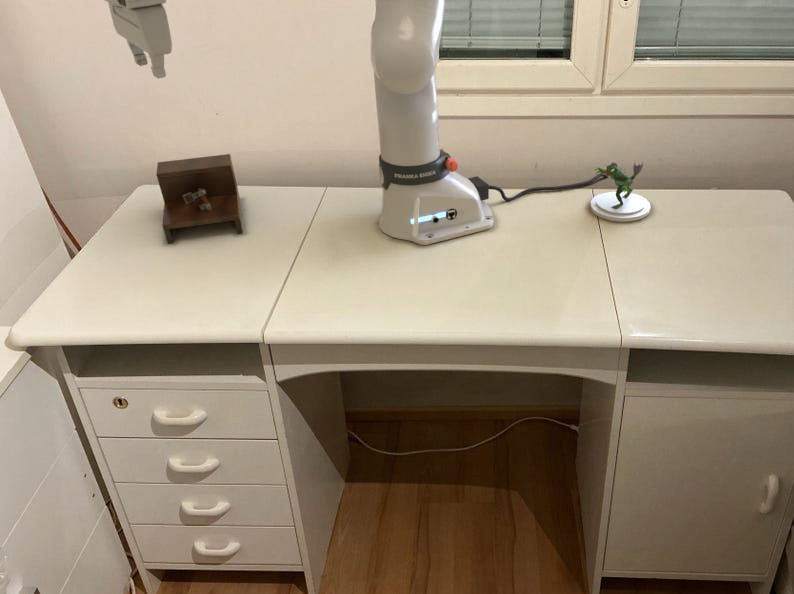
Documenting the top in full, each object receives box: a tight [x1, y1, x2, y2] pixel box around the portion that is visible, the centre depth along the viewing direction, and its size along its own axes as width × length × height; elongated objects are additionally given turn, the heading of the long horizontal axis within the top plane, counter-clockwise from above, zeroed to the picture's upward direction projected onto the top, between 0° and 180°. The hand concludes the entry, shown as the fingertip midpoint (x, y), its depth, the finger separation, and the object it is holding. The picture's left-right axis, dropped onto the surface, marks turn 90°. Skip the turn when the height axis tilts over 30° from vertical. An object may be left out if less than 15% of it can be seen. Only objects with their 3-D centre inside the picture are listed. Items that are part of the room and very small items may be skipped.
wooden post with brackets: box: [182, 188, 212, 211], centre depth 149 cm, size 2×8×4 cm, turn 48°
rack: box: [155, 153, 244, 245], centre depth 151 cm, size 14×16×10 cm
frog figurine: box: [589, 162, 651, 223], centre depth 153 cm, size 12×12×10 cm
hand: (150, 70), depth 138 cm, fingers open, 8 cm apart
